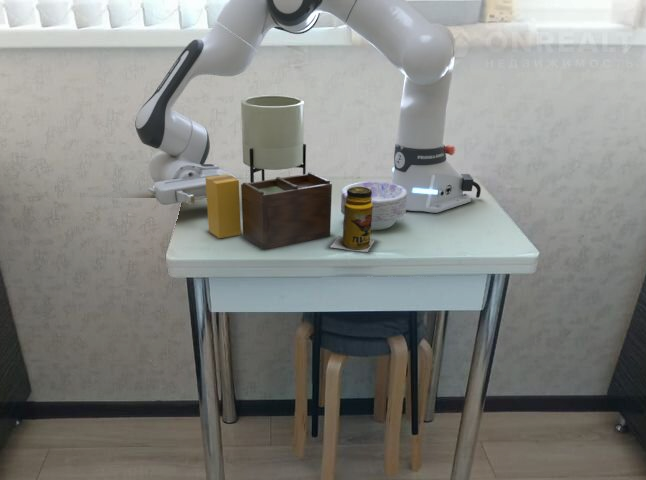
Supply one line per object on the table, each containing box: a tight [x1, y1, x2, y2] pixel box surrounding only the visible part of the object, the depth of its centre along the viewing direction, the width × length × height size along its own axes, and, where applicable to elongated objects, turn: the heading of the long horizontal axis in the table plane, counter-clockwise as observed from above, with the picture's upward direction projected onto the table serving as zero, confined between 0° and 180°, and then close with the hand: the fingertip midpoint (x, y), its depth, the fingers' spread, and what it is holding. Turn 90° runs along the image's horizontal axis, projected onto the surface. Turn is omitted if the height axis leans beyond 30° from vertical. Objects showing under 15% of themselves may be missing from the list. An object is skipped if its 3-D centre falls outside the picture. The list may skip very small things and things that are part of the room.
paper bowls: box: [340, 181, 407, 231], centre depth 163 cm, size 15×15×8 cm
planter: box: [240, 94, 307, 183], centre depth 174 cm, size 15×16×23 cm
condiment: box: [329, 187, 375, 253], centre depth 151 cm, size 7×8×12 cm
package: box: [205, 174, 242, 239], centre depth 156 cm, size 6×6×12 cm
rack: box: [240, 171, 333, 250], centre depth 155 cm, size 17×10×12 cm, turn 121°
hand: (210, 196), depth 161 cm, fingers open, 8 cm apart
